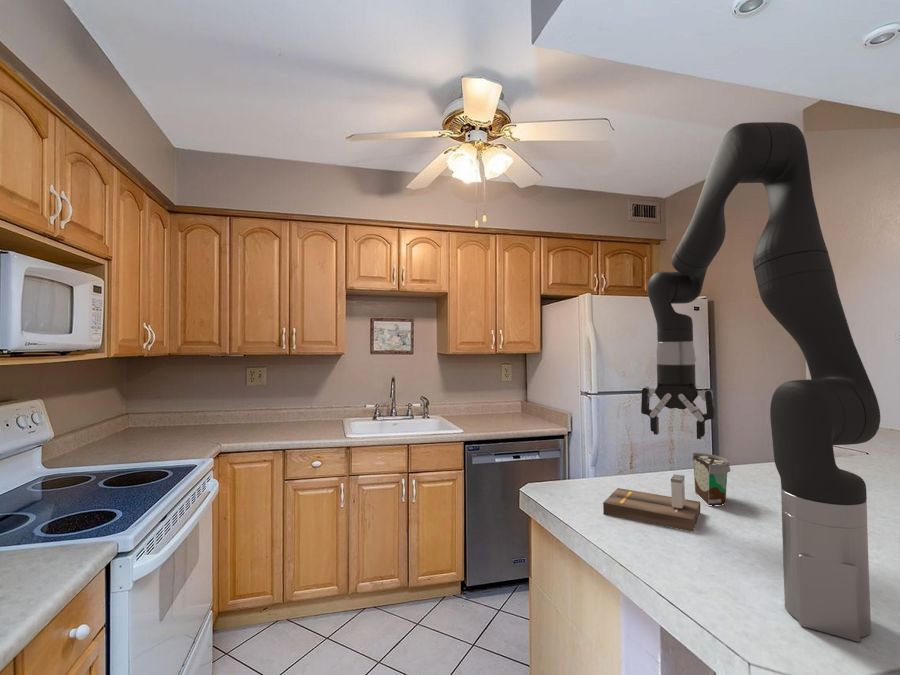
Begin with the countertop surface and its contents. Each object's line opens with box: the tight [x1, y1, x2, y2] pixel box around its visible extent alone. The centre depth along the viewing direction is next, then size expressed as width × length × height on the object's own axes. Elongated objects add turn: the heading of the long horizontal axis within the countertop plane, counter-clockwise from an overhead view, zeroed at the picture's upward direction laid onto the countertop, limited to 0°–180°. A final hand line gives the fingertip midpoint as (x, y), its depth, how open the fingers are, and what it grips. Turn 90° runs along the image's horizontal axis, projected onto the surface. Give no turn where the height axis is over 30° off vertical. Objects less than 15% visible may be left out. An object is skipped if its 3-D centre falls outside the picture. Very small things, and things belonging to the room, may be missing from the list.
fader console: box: [602, 487, 701, 532], centre depth 100 cm, size 12×18×3 cm, turn 54°
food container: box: [692, 452, 731, 507], centre depth 108 cm, size 12×6×10 cm, turn 168°
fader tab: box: [670, 473, 686, 508], centre depth 97 cm, size 4×2×6 cm, turn 144°
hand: (677, 436), depth 98 cm, fingers open, 8 cm apart
